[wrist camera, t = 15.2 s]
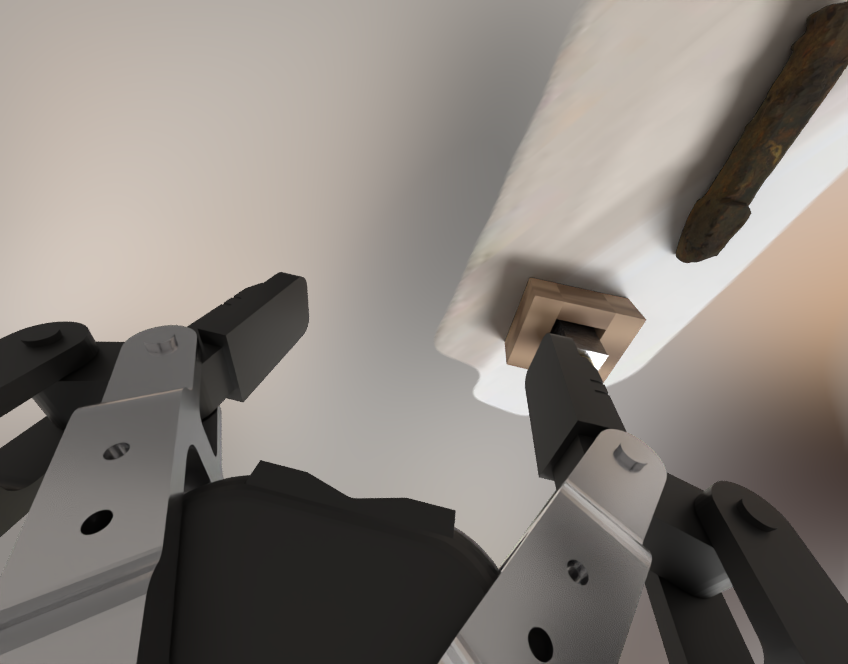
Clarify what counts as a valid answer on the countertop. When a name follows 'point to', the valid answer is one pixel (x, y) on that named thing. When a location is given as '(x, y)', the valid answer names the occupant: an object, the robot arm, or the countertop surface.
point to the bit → (582, 340)
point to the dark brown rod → (769, 134)
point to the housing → (571, 320)
